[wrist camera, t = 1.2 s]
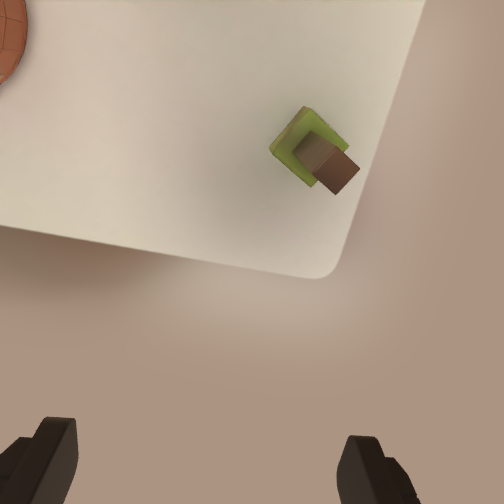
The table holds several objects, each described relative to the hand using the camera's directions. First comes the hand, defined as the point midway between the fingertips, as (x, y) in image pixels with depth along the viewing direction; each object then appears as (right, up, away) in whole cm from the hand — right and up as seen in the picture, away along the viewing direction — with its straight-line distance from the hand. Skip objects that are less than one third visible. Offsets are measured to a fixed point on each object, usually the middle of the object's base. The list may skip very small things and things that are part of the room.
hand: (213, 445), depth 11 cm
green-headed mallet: (+6, +16, +25) cm, 30 cm away
